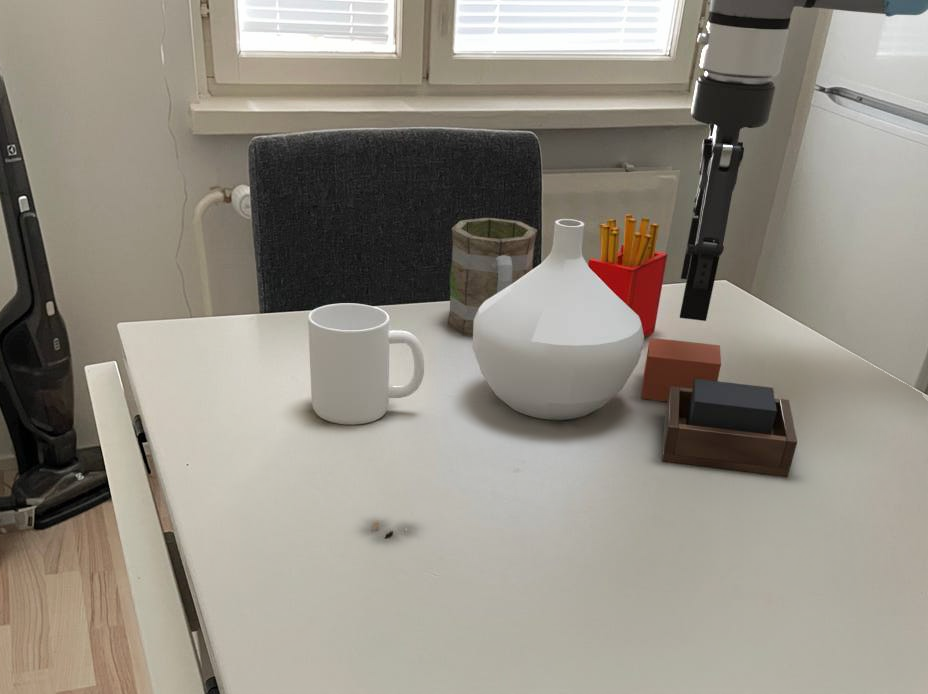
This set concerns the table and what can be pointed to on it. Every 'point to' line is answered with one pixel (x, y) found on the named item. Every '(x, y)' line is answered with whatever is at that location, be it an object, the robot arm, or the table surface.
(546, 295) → the vase
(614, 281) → the french fries container
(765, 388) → the dark gray rectangular block
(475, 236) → the mug
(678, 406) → the frame
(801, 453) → the table surface
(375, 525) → the pale spotted flat piece
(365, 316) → the cup
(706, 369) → the reddish brown rectangular block
